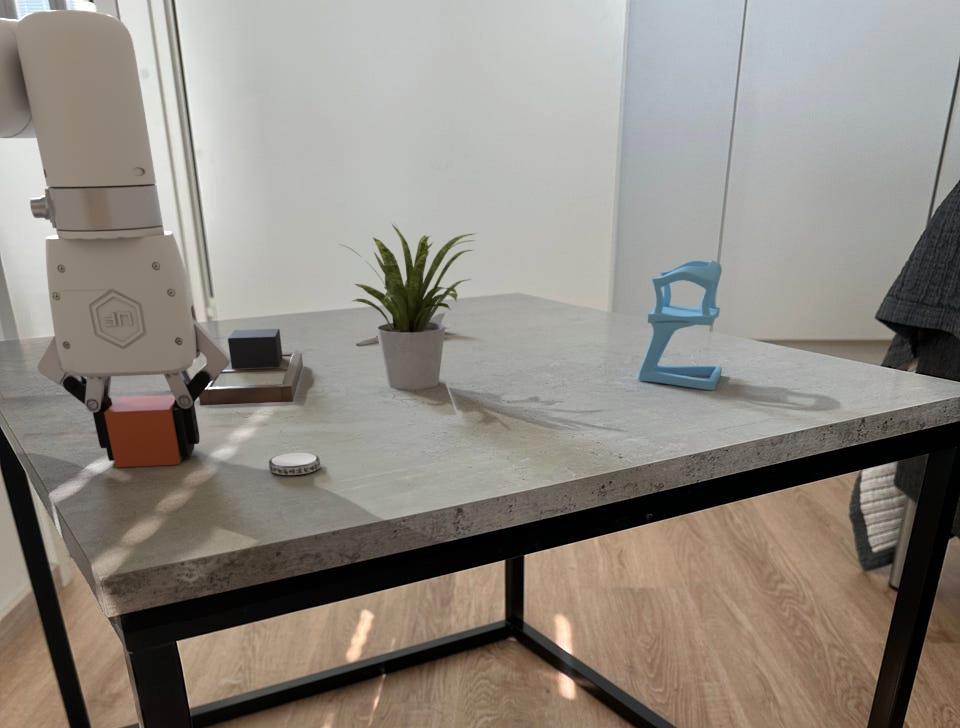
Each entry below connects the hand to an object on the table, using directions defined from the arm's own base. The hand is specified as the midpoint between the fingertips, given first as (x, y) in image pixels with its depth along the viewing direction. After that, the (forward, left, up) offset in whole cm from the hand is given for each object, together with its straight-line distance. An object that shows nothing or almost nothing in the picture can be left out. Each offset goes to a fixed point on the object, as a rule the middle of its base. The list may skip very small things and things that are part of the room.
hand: (152, 452), depth 76 cm
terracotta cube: (0, 0, 0) cm, 0 cm away
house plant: (+24, +21, -1) cm, 32 cm away
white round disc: (+12, -5, -1) cm, 13 cm away
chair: (+51, +20, -1) cm, 55 cm away
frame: (+6, +24, 0) cm, 25 cm away
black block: (+6, +28, 0) cm, 29 cm away
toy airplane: (+24, +51, -1) cm, 56 cm away
